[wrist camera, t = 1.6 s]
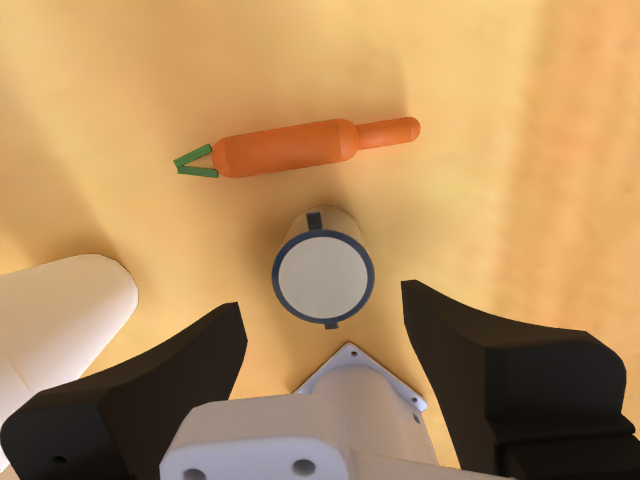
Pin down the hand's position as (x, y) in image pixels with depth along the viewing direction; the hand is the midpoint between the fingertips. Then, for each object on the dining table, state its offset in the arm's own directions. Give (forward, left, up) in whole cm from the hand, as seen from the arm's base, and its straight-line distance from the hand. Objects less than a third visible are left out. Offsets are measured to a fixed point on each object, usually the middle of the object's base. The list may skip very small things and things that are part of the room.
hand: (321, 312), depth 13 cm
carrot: (+5, -5, -10) cm, 12 cm away
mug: (0, 0, -10) cm, 10 cm away
